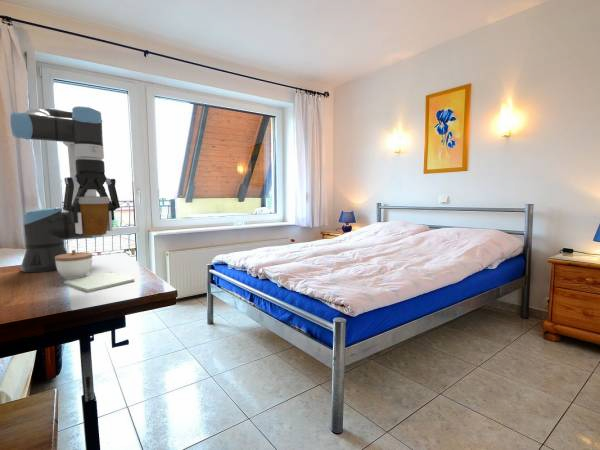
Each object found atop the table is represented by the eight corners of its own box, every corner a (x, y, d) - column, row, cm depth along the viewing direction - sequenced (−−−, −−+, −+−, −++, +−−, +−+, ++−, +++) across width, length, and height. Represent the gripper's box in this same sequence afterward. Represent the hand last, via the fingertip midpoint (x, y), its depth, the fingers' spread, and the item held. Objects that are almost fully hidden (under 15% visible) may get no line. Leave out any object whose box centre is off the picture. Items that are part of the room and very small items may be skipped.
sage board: (64, 283, 102) (64, 281, 102) (109, 274, 114) (109, 272, 114) (88, 292, 94) (87, 289, 94) (134, 281, 105) (134, 278, 105)
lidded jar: (74, 281, 105) (72, 253, 104) (48, 280, 107) (45, 252, 106) (101, 273, 115) (99, 248, 114) (76, 272, 118) (74, 247, 117)
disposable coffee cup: (112, 231, 108) (110, 196, 106) (111, 235, 100) (109, 196, 98) (78, 233, 103) (76, 196, 102) (74, 237, 95) (71, 197, 94)
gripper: (54, 155, 88) (61, 237, 91) (129, 161, 105) (133, 229, 108) (44, 157, 92) (50, 234, 95) (118, 162, 110) (121, 228, 112)
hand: (94, 231), depth 101 cm, fingers closed on disposable coffee cup, 8 cm apart
